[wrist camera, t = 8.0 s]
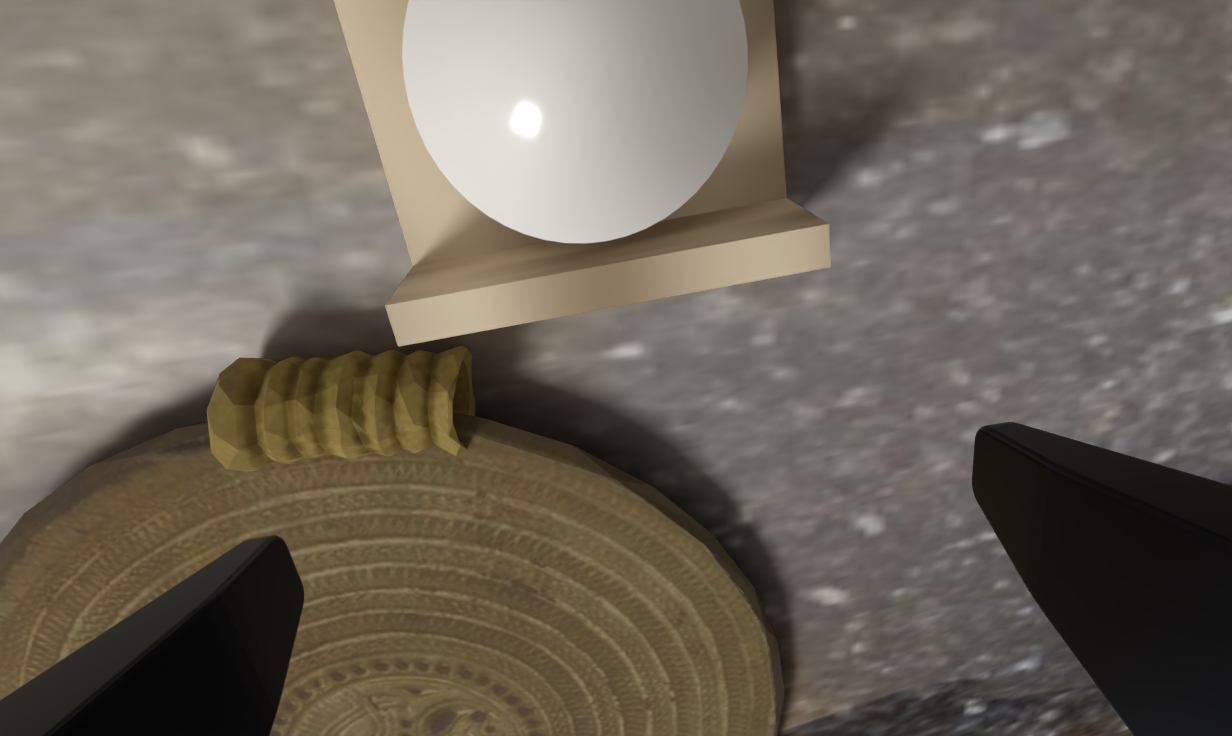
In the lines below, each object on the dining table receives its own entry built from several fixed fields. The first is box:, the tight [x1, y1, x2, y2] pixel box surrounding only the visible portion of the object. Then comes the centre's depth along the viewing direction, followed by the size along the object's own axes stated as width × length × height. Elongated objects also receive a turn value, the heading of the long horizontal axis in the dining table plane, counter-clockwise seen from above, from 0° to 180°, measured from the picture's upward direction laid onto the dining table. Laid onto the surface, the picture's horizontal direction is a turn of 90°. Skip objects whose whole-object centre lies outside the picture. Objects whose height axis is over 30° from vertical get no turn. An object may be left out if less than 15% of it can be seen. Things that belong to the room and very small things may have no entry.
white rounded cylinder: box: [402, 0, 748, 243], centre depth 15 cm, size 6×6×5 cm
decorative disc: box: [0, 346, 785, 736], centre depth 25 cm, size 29×3×30 cm
